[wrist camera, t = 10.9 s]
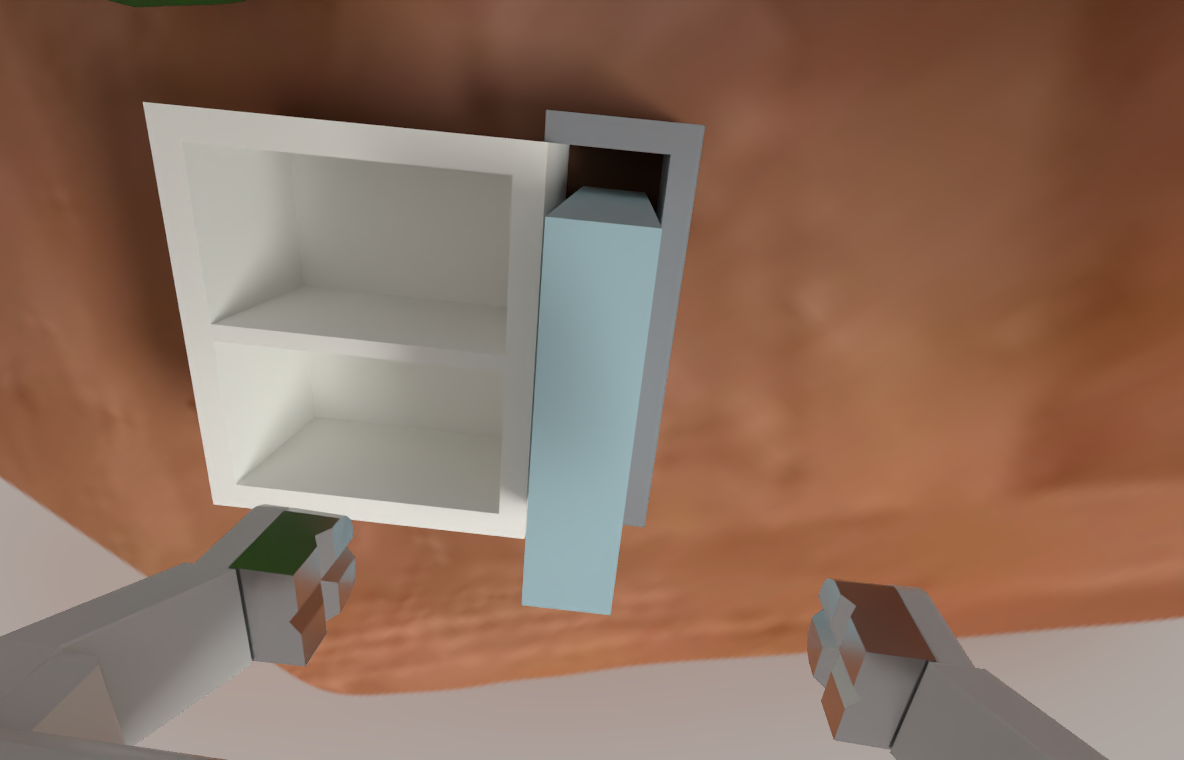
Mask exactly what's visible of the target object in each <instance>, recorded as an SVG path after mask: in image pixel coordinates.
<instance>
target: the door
mask: <svg viewBox="0 0 1184 760" xmlns="http://www.w3.org/2000/svg"><path fill="white" fill-rule="evenodd" d="M661 235H662V227H661V225H660V223H659V220H658V218H657V216H656V214H655V212H654V210H653V207H652V205H651V203H650V201H649V199H648V197H647V195H646V192H636V191H626V190H616V189H606V188H596V187H586V186H582V187H581V188H580V189H579V190H578V191H576V192H575V193H574V194H573V195H571V196H570V197H569V198H568V199H566V200H565V201H564V202H563V203H561V204H560V205H559V206H558V207H557V208H555V209H554V210H553V211H552V212H550V213H549V214H548V215H547V216H545V229H544V246H543V262H542V278H541V295H540V311H539V328H538V344H537V361H536V377H535V394H534V410H533V426H532V443H531V459H530V476H529V492H528V509H527V525H526V542H525V558H524V575H523V591H522V605H526V606H535V607H543V608H552V609H561V610H570V611H579V612H588V613H596V614H605V615H611V607H612V600H613V592H614V585H615V577H616V570H617V562H618V555H619V548H620V540H621V533H622V525H623V518H624V510H625V503H626V495H627V488H628V481H629V473H630V466H631V458H632V451H633V443H634V436H635V428H636V421H637V413H638V406H639V399H640V391H641V384H642V376H643V369H644V361H645V354H646V346H647V339H648V332H649V324H650V317H651V309H652V302H653V294H654V287H655V279H656V272H657V265H658V257H659V250H660V242H661Z"/></svg>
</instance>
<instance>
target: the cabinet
mask: <svg viewBox="0 0 1184 760" xmlns="http://www.w3.org/2000/svg"><path fill="white" fill-rule="evenodd" d="M143 106H144V112H145V118H146V123H147V129H148V135H149V140H150V146H151V152H152V158H153V163H154V169H155V175H156V180H157V186H158V192H159V197H160V203H161V209H162V214H163V220H164V226H165V231H166V237H167V243H168V248H169V254H170V260H171V265H172V271H173V277H174V283H175V288H176V294H177V300H178V305H179V311H180V317H181V322H182V328H183V334H184V339H185V345H186V351H187V356H188V362H189V368H190V373H191V379H192V385H193V390H194V396H195V402H196V407H197V413H198V419H199V425H200V430H201V436H202V442H203V447H204V453H205V459H206V464H207V470H208V476H209V481H210V487H211V493H212V498H213V504H215V505H224V506H233V507H242V508H251V509H253V508H254V507H256V506H259V505H262V504H269V505H276V506H283V507H289V508H299V509H305V510H312V511H319V512H325V513H332V514H338V515H345V516H347V517H348V518H350V519H351V520H359V521H368V522H377V523H386V524H395V525H404V526H413V527H422V528H431V529H440V530H449V531H458V532H467V533H476V534H485V535H494V536H503V537H512V538H521V539H524V538H525V534H526V525H527V509H528V492H529V476H530V459H531V443H532V426H533V410H534V394H535V377H536V361H537V344H538V328H539V311H540V295H541V278H542V262H543V246H544V229H545V216H547V215H548V214H549V213H550V212H552V211H553V210H554V209H555V208H557V207H558V206H559V205H560V204H561V203H563V202H564V201H565V200H566V188H567V175H568V161H569V147H570V145H578V146H588V147H598V148H608V149H618V150H628V151H638V152H648V153H658V154H664V156H663V164H662V171H661V179H660V187H659V195H658V202H657V210H656V216H657V218H658V220H659V223H660V225H661V227H662V235H661V242H660V250H659V257H658V265H657V272H656V279H655V287H654V294H653V302H652V309H651V317H650V324H649V332H648V339H647V346H646V354H645V361H644V369H643V376H642V384H641V391H640V399H639V406H638V413H637V421H636V428H635V436H634V443H633V451H632V458H631V466H630V473H629V481H628V488H627V495H626V503H625V510H624V518H623V525H629V526H638V527H645V520H646V514H647V507H648V501H649V494H650V487H651V481H652V474H653V467H654V461H655V454H656V448H657V441H658V434H659V428H660V421H661V415H662V408H663V401H664V395H665V388H666V382H667V375H668V368H669V362H670V355H671V349H672V342H673V335H674V329H675V322H676V315H677V309H678V302H679V296H680V289H681V282H682V276H683V269H684V263H685V256H686V249H687V243H688V236H689V230H690V223H691V216H692V210H693V203H694V197H695V190H696V183H697V177H698V170H699V164H700V157H701V150H702V144H703V137H704V130H705V125H696V124H686V123H676V122H665V121H655V120H645V119H635V118H625V117H615V116H605V115H595V114H585V113H574V112H564V111H554V110H546V122H545V139H544V142H539V141H529V140H519V139H509V138H499V137H489V136H479V135H469V134H459V133H449V132H439V131H429V130H419V129H409V128H399V127H389V126H379V125H369V124H359V123H349V122H339V121H329V120H319V119H309V118H299V117H289V116H279V115H269V114H259V113H249V112H239V111H229V110H219V109H209V108H199V107H189V106H179V105H169V104H159V103H149V102H143Z"/></svg>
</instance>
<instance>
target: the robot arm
mask: <svg viewBox="0 0 1184 760" xmlns="http://www.w3.org/2000/svg"><path fill="white" fill-rule="evenodd" d="M352 537H353V528H352V520H351V519H350V518H348V517H347V516H345V515H338V514H332V513H325V512H319V511H312V510H305V509H299V508H289V507H283V506H276V505H269V504H262V505H259V506H256V507H254V508H253V509H252V510H251V511H250V512H249V513H248V514H247V515H246V516H245V517H244V518H243V519H241V520H240V521H239V522H238V523H237V524H236V525H235V526H234V527H233V528H232V529H231V530H230V531H229V532H227V533H226V534H225V535H224V536H223V537H222V538H221V539H220V540H219V541H218V542H217V543H216V544H215V545H213V546H212V547H211V548H210V549H209V550H208V551H207V552H206V553H205V554H204V555H203V556H202V557H201V558H199V559H198V560H197V561H196V562H195V563H194V564H191V563H183V564H180V565H178V566H175V567H173V568H170V569H168V570H165V571H163V572H160V573H158V574H155V575H153V576H150V577H148V578H145V579H143V580H140V581H138V582H135V583H133V584H130V585H128V586H125V587H123V588H120V589H118V590H115V591H113V592H110V593H108V594H105V595H103V596H100V597H98V598H96V599H93V600H90V601H88V602H85V603H83V604H80V605H78V606H76V607H73V608H71V609H68V610H66V611H63V612H61V613H58V614H55V615H53V616H51V617H48V618H46V619H43V620H41V621H38V622H36V623H33V624H31V625H28V626H26V627H23V628H21V629H18V630H16V631H13V632H11V633H8V634H6V635H3V636H1V637H0V760H225V759H218V758H211V757H205V756H198V755H191V754H184V753H177V752H170V751H164V750H157V749H150V748H142V747H136V746H134V745H135V744H137V743H138V742H139V741H141V740H142V739H144V738H145V737H147V736H148V735H150V734H151V733H153V732H154V731H155V730H157V729H158V728H160V727H161V726H163V725H164V724H166V723H167V722H168V721H170V720H171V719H173V718H174V717H176V716H177V715H179V714H180V713H181V712H183V711H184V710H186V709H187V708H189V707H190V706H192V705H193V704H195V703H196V702H198V701H199V700H200V699H202V698H203V697H205V696H206V695H208V694H209V693H210V692H212V691H213V690H215V689H216V688H218V687H219V686H221V685H222V684H224V683H225V682H226V681H228V680H229V679H231V678H232V677H234V676H235V675H237V674H238V673H239V672H241V671H242V670H244V669H245V668H247V667H248V666H250V665H251V664H252V661H260V662H269V663H279V664H288V665H297V666H306V665H307V663H308V662H309V660H310V659H311V657H312V655H313V654H314V652H315V651H316V649H317V648H318V646H319V645H320V643H321V642H322V640H323V639H324V637H325V636H326V634H327V630H326V621H327V620H328V619H330V618H332V617H334V616H335V615H337V614H339V613H340V612H341V611H342V609H343V607H344V606H345V604H346V602H347V601H348V599H349V596H350V593H351V591H352V588H353V585H354V581H355V573H356V561H355V556H354V555H353V554H352V552H351V551H350V550H349V549H348V548H347V544H348V543H349V542H350V540H351V539H352ZM819 599H820V602H821V604H822V607H823V609H822V610H821V611H820V612H818V613H817V614H816V615H814V616H813V617H812V619H811V623H810V627H809V631H808V644H807V651H808V658H809V664H810V667H811V670H812V674H813V677H814V678H815V679H816V680H817V681H818V682H819V683H820V684H821V685H822V686H823V687H824V688H825V691H824V694H823V697H822V700H821V702H822V705H823V708H824V711H825V714H826V717H827V720H828V723H829V726H830V730H831V732H832V736H833V739H834V740H837V741H842V742H848V743H855V744H860V745H866V746H872V747H878V748H884V749H890V750H891V752H890V753H891V754H892V755H893V756H894V757H895V759H896V760H1108V759H1107V758H1105V757H1104V756H1103V755H1101V754H1100V753H1099V752H1097V751H1096V750H1095V749H1093V748H1092V747H1091V746H1089V745H1088V744H1087V743H1085V742H1084V741H1082V740H1081V739H1080V738H1078V737H1077V736H1076V735H1074V734H1073V733H1072V732H1070V731H1069V730H1068V729H1066V728H1065V727H1063V726H1062V725H1061V724H1059V723H1058V722H1056V721H1055V720H1054V719H1052V718H1051V717H1050V716H1048V715H1047V714H1046V713H1044V712H1043V711H1042V710H1040V709H1039V708H1037V707H1036V706H1035V705H1033V704H1032V703H1031V702H1029V701H1028V700H1026V699H1025V698H1024V697H1022V696H1021V695H1020V694H1018V693H1017V692H1016V691H1014V690H1013V689H1012V688H1010V687H1009V686H1007V685H1006V684H1005V683H1003V682H1002V681H1000V680H999V679H998V678H997V677H995V676H994V675H992V674H991V673H990V672H988V671H987V670H985V669H979V668H975V667H974V665H973V664H972V662H971V661H970V659H969V658H968V656H967V654H966V653H965V651H964V650H963V648H962V646H961V645H960V643H959V642H958V640H957V639H956V637H955V636H954V634H953V632H952V631H951V629H950V628H949V626H948V625H947V623H946V621H945V620H944V618H943V617H942V615H941V614H940V612H939V611H938V609H937V607H936V606H935V604H934V603H933V601H932V600H931V598H930V597H929V595H928V593H927V592H925V591H924V590H923V589H921V588H918V587H909V586H899V585H882V584H874V583H865V582H857V581H849V580H841V579H833V578H827V579H826V580H825V582H824V583H823V584H822V587H821V590H820V593H819Z"/></svg>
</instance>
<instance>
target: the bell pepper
mask: <svg viewBox="0 0 1184 760" xmlns="http://www.w3.org/2000/svg"><path fill="white" fill-rule="evenodd" d="M109 1H113V2H117V3H120V4H124V5H128V6H132V7H156V6H185V5H212V4H226V3H234V2H243V1H245V0H109Z"/></svg>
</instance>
